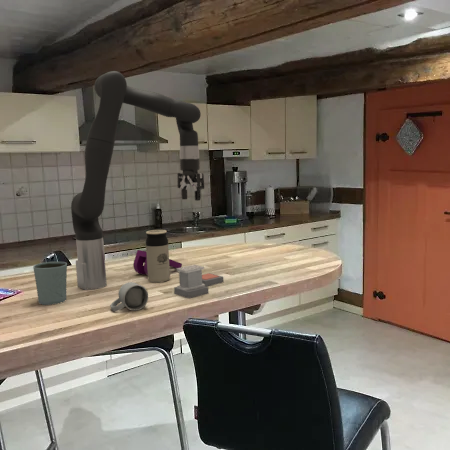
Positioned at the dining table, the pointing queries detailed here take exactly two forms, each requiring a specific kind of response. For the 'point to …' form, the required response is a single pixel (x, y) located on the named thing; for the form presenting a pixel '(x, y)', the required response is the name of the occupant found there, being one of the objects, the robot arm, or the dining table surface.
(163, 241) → the travel mug
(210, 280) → the stand right
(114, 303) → the ceramic mug
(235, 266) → the dining table surface
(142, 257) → the mounting bracket
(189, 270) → the housing
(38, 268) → the green tapered cup
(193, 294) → the stand left
